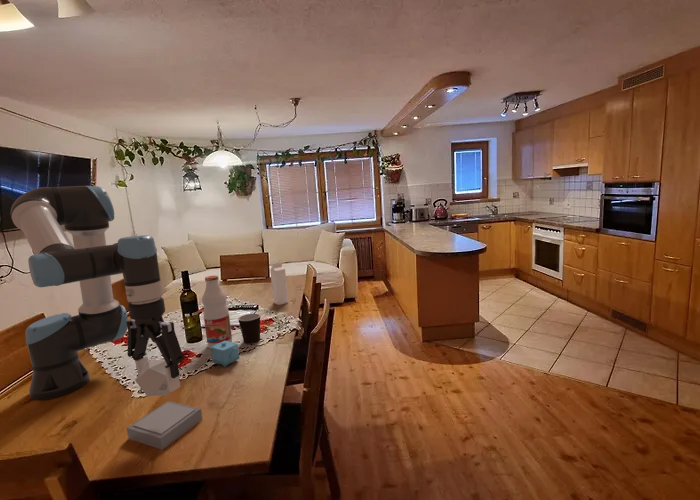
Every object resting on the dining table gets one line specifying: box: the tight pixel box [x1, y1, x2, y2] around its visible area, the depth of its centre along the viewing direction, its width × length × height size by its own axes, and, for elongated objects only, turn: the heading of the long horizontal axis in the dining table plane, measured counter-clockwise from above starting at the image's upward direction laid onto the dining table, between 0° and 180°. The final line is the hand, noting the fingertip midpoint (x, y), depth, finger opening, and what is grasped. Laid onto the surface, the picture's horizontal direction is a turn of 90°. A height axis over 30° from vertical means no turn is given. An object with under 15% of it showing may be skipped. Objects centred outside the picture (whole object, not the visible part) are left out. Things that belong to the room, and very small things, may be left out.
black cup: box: [237, 313, 261, 345], centre depth 145 cm, size 12×9×10 cm
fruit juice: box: [201, 274, 233, 349], centre depth 140 cm, size 9×9×28 cm
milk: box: [269, 262, 289, 306], centre depth 193 cm, size 6×6×22 cm
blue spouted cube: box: [210, 341, 240, 368], centre depth 125 cm, size 12×6×8 cm, turn 56°
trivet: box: [126, 400, 203, 451], centre depth 90 cm, size 12×12×3 cm
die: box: [134, 358, 181, 397], centre depth 88 cm, size 8×9×10 cm
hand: (159, 385), depth 89 cm, fingers closed on die, 10 cm apart
